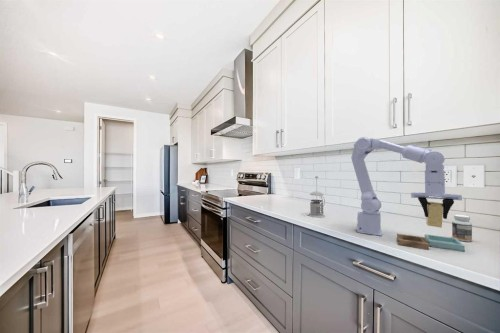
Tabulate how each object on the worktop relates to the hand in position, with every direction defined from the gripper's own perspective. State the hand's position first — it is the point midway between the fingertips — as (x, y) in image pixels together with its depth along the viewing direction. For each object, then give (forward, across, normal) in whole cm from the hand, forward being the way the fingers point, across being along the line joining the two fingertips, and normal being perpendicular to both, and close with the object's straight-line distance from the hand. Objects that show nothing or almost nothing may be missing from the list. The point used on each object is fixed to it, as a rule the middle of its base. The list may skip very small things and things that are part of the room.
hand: (435, 217), depth 79 cm
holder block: (+10, -8, -4) cm, 14 cm away
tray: (+10, +2, +1) cm, 11 cm away
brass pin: (+3, -1, 0) cm, 3 cm away
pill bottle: (+11, +10, +13) cm, 20 cm away
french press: (+10, -52, +25) cm, 58 cm away
